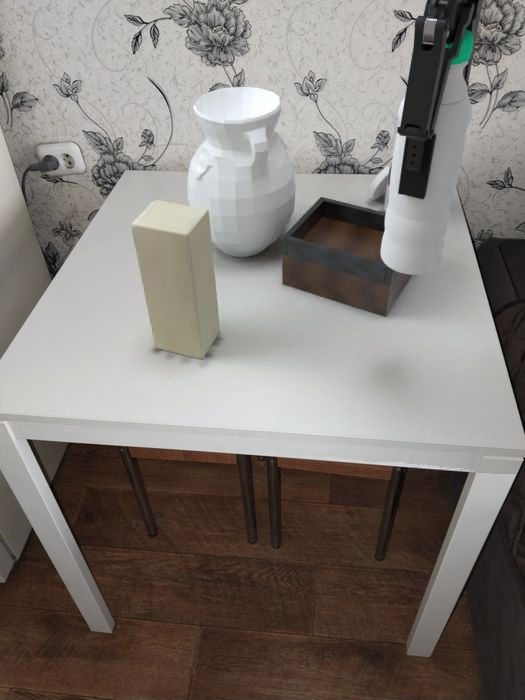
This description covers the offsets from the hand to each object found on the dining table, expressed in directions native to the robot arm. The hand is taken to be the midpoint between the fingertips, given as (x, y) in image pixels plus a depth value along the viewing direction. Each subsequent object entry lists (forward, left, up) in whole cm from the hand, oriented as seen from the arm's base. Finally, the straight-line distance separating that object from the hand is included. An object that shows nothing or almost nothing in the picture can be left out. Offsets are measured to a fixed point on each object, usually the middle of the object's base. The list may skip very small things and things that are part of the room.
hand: (423, 178), depth 63 cm
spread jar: (+14, -40, -29) cm, 51 cm away
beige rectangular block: (+28, +9, -29) cm, 41 cm away
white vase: (+34, -17, -29) cm, 48 cm away
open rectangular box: (+13, -16, -28) cm, 35 cm away
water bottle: (0, 0, -11) cm, 11 cm away
